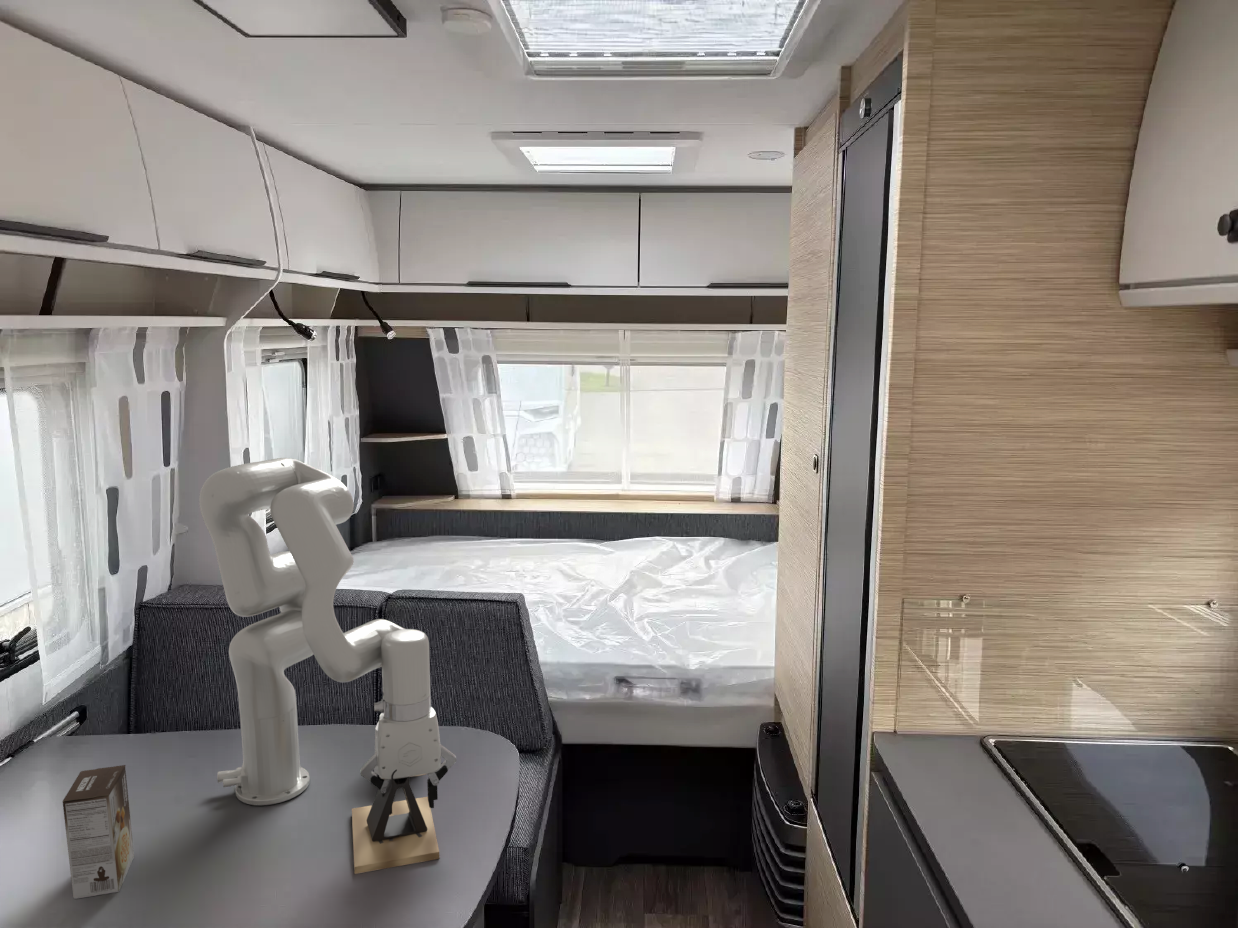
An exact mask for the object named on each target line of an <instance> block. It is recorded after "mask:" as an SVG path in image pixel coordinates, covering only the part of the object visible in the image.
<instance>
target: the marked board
mask: <svg viewBox="0 0 1238 928" xmlns="http://www.w3.org/2000/svg"><path fill="white" fill-rule="evenodd" d="M415 799H416V801H417V804H418V806H419V809H420V811H421V814H422V816H423V819H424V821H425V824H426V826H427V831H426V832H422V833H416V834H411V835H406V836H399V837H396V838H390V839H385V840H380V841H375V842H373V841H372V839H371V835H370V832H369V828H368V825H367V821H366V820H367V817H368V815H369V812H370V810H371V807H372V804H371V805H366V806H365V805H364V806H360V807H354V808H353V807H352V808H351V817H352V818H351V820H352V822H351V824H352V825H351V826H352V842H353V845H352V846H353V866H354V867H353V868H354V870H353V871H354V875H358V874H363V873H367V872H372V871H379V870H384V869H389V868H395V867H402V866H407V865H411V864H412V865H413V864H418V863H423V862H429V861H434V860H439V859H440V858H441V857H440V849H439V843H438V840H437V833H436V829H435V824H434V820H433V819H434V818H433V814H432V808H431V807H429V802H428V796H424V797H422V796H421V797H417V798H416V797H415ZM406 813H409V808H408V805H407V801H406V799H405V800H396V801H393V804H392V814H391V815H389V816H394V815H400V814H406Z"/></svg>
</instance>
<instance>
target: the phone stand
mask: <svg viewBox="0 0 1238 928" xmlns="http://www.w3.org/2000/svg"><path fill="white" fill-rule="evenodd" d="M396 771H397V769H396V770H395V771H394V772H393V773H392V776H391V780H390V784H389V786H388V789H387V790H386V791H387V792H386V793H384V796H383V795H382V792H381V790H380V789H378V788H377V791H376V794H375V796H374V800H373V801H372V804H371V805H372V807H371V810H370V812H369V815H368V817H367V820H366V821H367V825H368V828H369V832H370V835H371V839H372V841H373V842H375V841H380V840H385V839H390V838H396V837H399V836H406V835H411V834H416V833H422V832H426V831H427V826H426V824H425V821H424V819H423V816H422V814H421V811H420V809H419V806H418V804H417V801H416V797H415V795H414V792H413V790H412V787H411V785H410V778H411V777H407V778H400V779H393V775H394V773H395V772H396ZM399 789H402V790H403V794H404V797H405V800H406V801H407V805H408V808H409V813H406V814H400V815H394V816H389V815H390V812H391V808H392V804H393V802H395V798H396V793H397V790H399Z"/></svg>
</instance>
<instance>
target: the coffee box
mask: <svg viewBox="0 0 1238 928" xmlns="http://www.w3.org/2000/svg"><path fill="white" fill-rule="evenodd" d="M126 770H127V769H126V764H123V765H115V766H108V767H98V768H95V769H87V770H81V771H80V772H79V773H78V774H77V777H76V778H75V780H74V782H73V783H72V784H71V785H72V786H71V787H70V788H69V790H68V791H67V793H66V795H65V796H64V798H63V799H62V808H63V809H62V810H63V819H64V826H65V834H66V835H65V836H66V843H67V844H66V845H67V851H68V852H67V855H68V862H69V870H70V871H69V872H70V881H71V888H72V896H73V899H75V900H77V899H81V898H88V897H95V896H100V895H101V896H102V895H107V894H113V893H118V892H119V893H120V891H121V889H122V886H123V884H124V882H125V879H126V876H127V874H128V872H129V869H130V868H131V865H132V862H133V860H134V858H135V853H134V844H133V843H134V842H133V833H132V832H133V831H132V821H131V811H130V802H129V801H130V799H129V793H128V792H129V791H128V782H127V781H128V780H127V772H126Z"/></svg>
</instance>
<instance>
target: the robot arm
mask: <svg viewBox="0 0 1238 928" xmlns="http://www.w3.org/2000/svg"><path fill="white" fill-rule="evenodd" d="M198 502H199V510H200V513H201V516H202V519H203V522H204V524H205V527H206V528H207V531H208V532H209V535H210V537H211V540H212V542H213V548H214V549H215V554H216V560H217V565H218V569H219V572H220V578H221V582H222V586H223V591H224V595H225V597H226V598H225V599H226V602H227V604H228V606H229V608H230V610H231V611H232V613H233V614H235V615H236V616H239V617H244V618H247V617H254V616H257V615H260V614H263V613H266V612H269V611H271V610H275V609H277V608H279V610H280V613H278V614H276V615H273V616H269V617H267V618H264V619H262V620H259V621H256V622H254V623H251V624H249V625H247V626H245V627H244V628H242V629H240V630H239V631H238V632H237V633H236V634H235V635H234V637H232V639H231V641H230V644H229V646H228V647H229V648H228V654H229V655H228V657H229V660H230V664H231V667H232V672H233V674H234V677H235V678H234V679H235V682H236V688H237V695H238V696H237V697H238V698H237V699H238V708H239V709H238V711H239V712H238V713H239V717H240V718H239V721H240V733H241V737H240V738H241V747H242V748H241V749H242V750H241V752H242V765H241V766H239V767H236V769H231V770H222V771H217V774H216V775H217V776H216V777H217V778H216V779H217V783H218V784H220V783H222V786H223V788H228V787H232V786H233V787H234V786H235V796H236V798H237V800H238V801H240V802H242V803H243V804H248V805H252V806H269V805H270V806H271V805H275V804H276V805H277V804H279V803H283V802H286V801H289V800H291V799H294V798H295V797H297V796H299V795H301V793H303V792H304V791H305V790H306V789H307V788H308V787H309V784H310V782H311V781H310V780H311V779H310V773H309V771H308V770H306V769H305V768H304V767H302V766H301V762H300V746H299V745H300V744H299V742H300V741H299V727H298V726H299V725H298V709H297V708H298V707H297V695H296V694H297V693H296V690H295V687H294V686H293V684H292V683H291V681H290V680H289V679H288V677H287V676H286V675H285V670H286V669H287V668H290V667H291V666H293V665H295V664H297V663H300V662H302V661H304V660H306V659H308V658H310V657H312V656H313V655H314V656H313V657H314V658H315V659H316V662H317V663H318V665H319V666H320V668H321V669H322V671H323V672H324V673H325V675H326V676H328V678H330V679H332V680H333V681H334V682H338V683H349V682H352V681H354V680H357V679H358V678H360V677H362V676H364V675H366V674H369V673H370V672H372V671H374V670H376V669H379V668H381V677H382V679H381V681H382V698H381V699H380V701H378V702H374V703H373V706H374V707H373V709H374V712H381V713H380V715H379V719H378V722H379V724H378V733H377V752H376V753H375V752H374V754H372V756H370V758H369V759H368V760H367V761H366V762H365V763H364V765H362V767H361V768H360V769H359V770H360V771H359V772H360V776H361V777H363V779H365V780H367V781H369V782H370V784H371V785H373V786H374V787H375V788H377V790H378V789H380V790H381V792H382V795H383V796H384V793H386V792H387V791H386V790H387V789H388V786H389V784H390V780H391V776H392V773H393V772H394V771H395V770H396V769H397V771H396V772H395V773H394V775H393V779H400V778H407V777H410V778H412V777H419V776H425V775H427V777H428V779H427V780H426V781H427V782H426V783H427V797H428V802H429V807H430V808H431V809H434V808H435V801H437V800H438V796H439V795H438V785H439V784H440V781H441V780H442V778H443V777H445V775H446V774H447V773H448V771H449V770H450V769H451V768H452V767H453V766H454V765H455V764H456V762H457V756H456V754H454V753H453V752H452V751H451V750H449V749H448V748H447V747H445V746H444V745H443V744H441V736H440V728H439V721H438V717H437V716H438V715H437V713H436V711H435V709H434V707H432V705H431V703H432V701H431V699H432V698H431V673H430V672H431V666H430V642H429V637H428V636H427V634H426V633H425V632H423V631H421V630H419V629H415V628H414V629H413V628H404V627H402V626H400V625H398V624H397V623H394V622H393V621H390V620H387V619H384V618H376V619H373V620H370V621H368V622H366V623H364V624H362V625H359V626H356V627H354V628H352V629H350V630H347V631H345V632H343V630H342V628H341V627H340V624H339V622H338V619H337V618H336V613H335V609H334V607H335V606H334V598H335V593H336V591H337V588H338V586H339V585H340V582H341V580H342V579H343V578H344V577H345V576H346V574H348V573H349V571H350V570H351V569H352V568H353V565H354V557H353V555H352V553H351V551H350V550H349V548H348V545H347V544H346V542H345V539H344V538H343V536H342V534H341V532H340V530H339V528H338V526H337V525H340V524H342V523H345V522H346V521H348V520H350V518H351V516H352V514H353V512H354V507H355V506H354V499H353V496H352V493H351V491H350V489H349V488H348V487H347V486H346V485H345V484H344V483H343V482H342V481H341V480H340V479H338V478H336V477H335V476H333V475H332V474H329V473H327V472H325V471H323V470H321V469H319V468H315V467H314V466H311V465H310V464H308V463H305V462H303V461H300V460H298V459H295V458H290V457H280V458H272V459H267V460H261V461H254V462H253V461H252V462H248V463H242V464H236V465H234V466H233V465H232V466H229V467H226V468H223V469H221V470H217V471H216V472H214V473H212V474H211V475H210V476H209V477H207V478H206V480H205V481H204V483H203V484H202V487H201V488H200V492H199V501H198ZM264 510H270V515H271V518H272V520H273V523H274V524H275V526H276V528H277V530H278V532H279V534H280V536H281V538H282V540H283V542H284V544H285V545H286V547H287V551H280V552H279V551H278V552H276V553H272V554H271V552H270V548H269V544H268V539H267V536H266V533H265V531H264V530H263V528H262V527H261V525H260V524H259V523H258V522H257V521H256V520H255V519H254V518H253V517H251V515H250V514H252V513H255V512H258V511H264ZM442 758H443V759H444V760H443V762H442ZM376 766H377V769H378V774H379V775H378V774H377V773H374V771H373V770H374V768H375V767H376ZM391 814H392V808H391V812H390V815H391Z"/></svg>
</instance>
